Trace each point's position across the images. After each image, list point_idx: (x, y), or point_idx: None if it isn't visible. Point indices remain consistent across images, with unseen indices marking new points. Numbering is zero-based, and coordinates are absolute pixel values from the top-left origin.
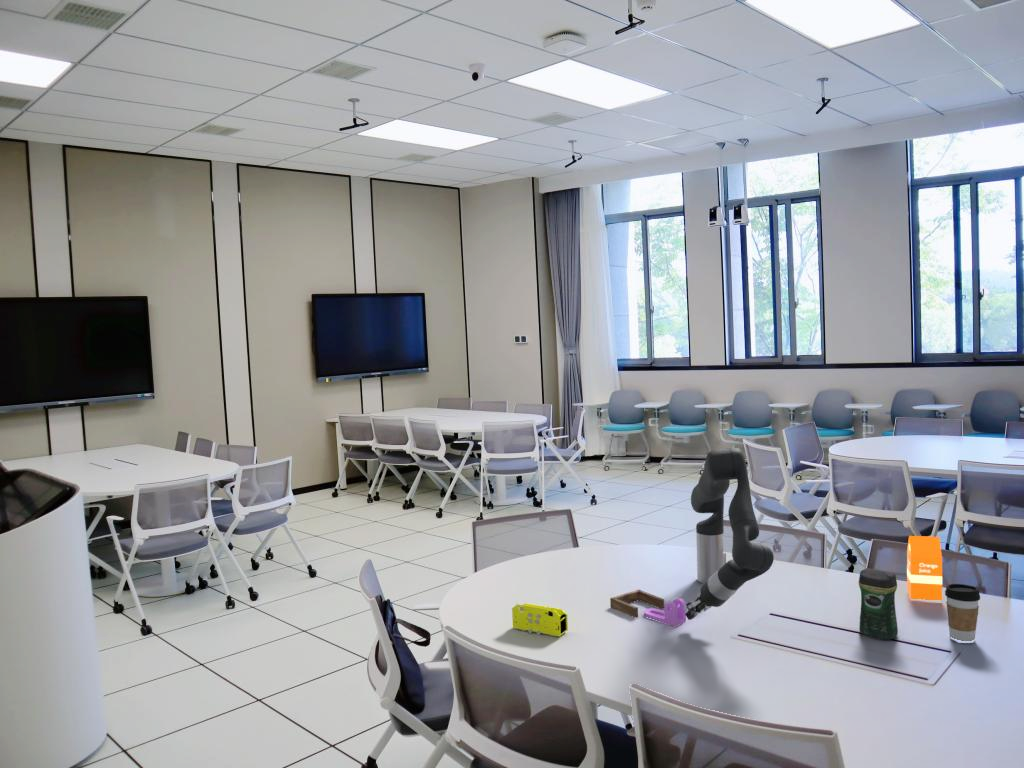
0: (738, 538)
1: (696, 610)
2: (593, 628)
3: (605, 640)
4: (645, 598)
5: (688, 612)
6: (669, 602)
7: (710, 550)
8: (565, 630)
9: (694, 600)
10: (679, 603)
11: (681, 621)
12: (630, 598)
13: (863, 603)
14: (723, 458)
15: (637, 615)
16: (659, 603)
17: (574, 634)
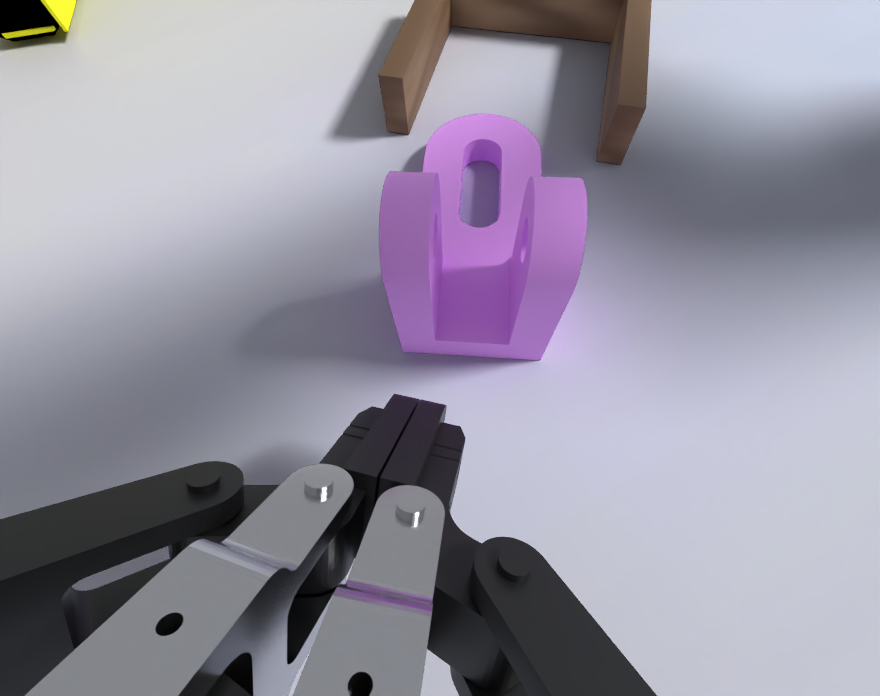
0: None
1: (308, 583)
2: (161, 78)
3: (27, 175)
4: (616, 46)
5: (337, 448)
6: (399, 183)
7: None
8: (55, 26)
9: (113, 616)
10: (527, 242)
11: (483, 350)
12: (556, 8)
13: None
14: None
15: (403, 124)
16: (608, 119)
17: (62, 64)
